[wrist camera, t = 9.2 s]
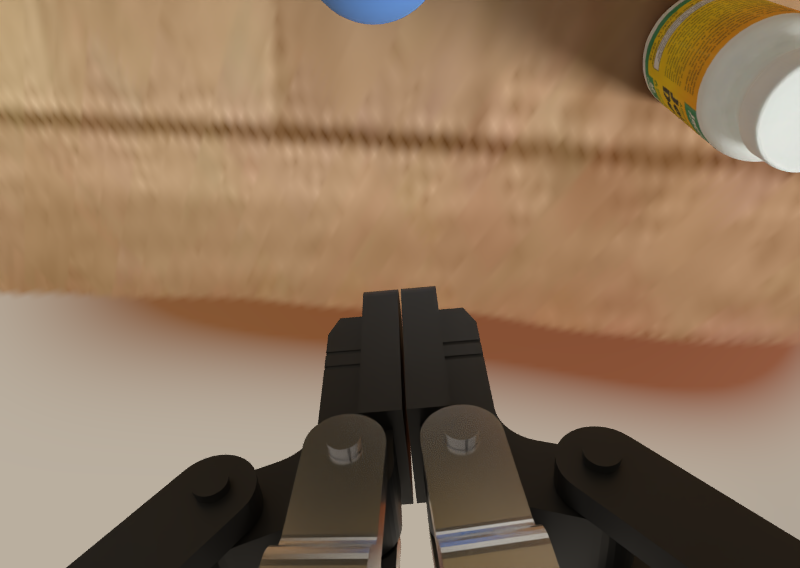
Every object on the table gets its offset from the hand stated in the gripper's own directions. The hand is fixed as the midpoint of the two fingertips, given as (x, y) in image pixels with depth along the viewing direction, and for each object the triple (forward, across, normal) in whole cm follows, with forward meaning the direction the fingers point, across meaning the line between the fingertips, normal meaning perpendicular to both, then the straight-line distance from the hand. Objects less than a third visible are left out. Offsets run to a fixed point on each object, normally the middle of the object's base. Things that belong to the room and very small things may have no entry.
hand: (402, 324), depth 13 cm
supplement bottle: (+19, -14, 0) cm, 24 cm away
